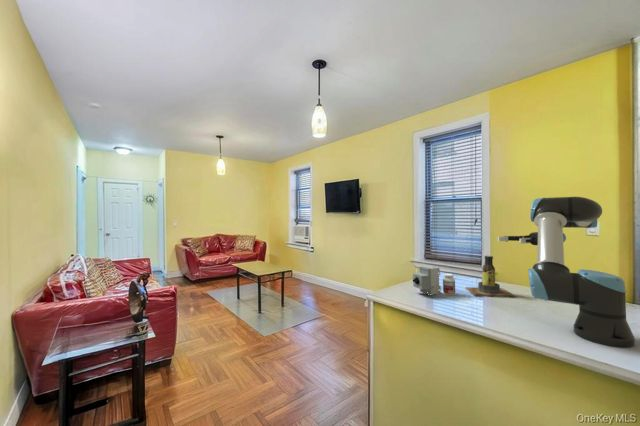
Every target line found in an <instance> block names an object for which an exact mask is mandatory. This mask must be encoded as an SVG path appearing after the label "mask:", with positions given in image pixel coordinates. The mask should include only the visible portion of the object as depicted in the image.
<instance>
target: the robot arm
mask: <svg viewBox="0 0 640 426" xmlns="http://www.w3.org/2000/svg"><path fill="white" fill-rule="evenodd" d="M602 214H603V208H602V206H601V204H599V202H597V201H595V200H593V199H591V198H588V197H583V196H582V197H581V196H566V197H565V196H563V197H562V196H559V197H558V196H557V197H540V198H539V197H538V198H535V199H533V200H532V202H531V206H530V213H529V217H530V222H533V223H534V225H535V226H536V227H537V232H536V231H535V232H534V231H532V232H530V233H529V235H527V234H526V235H504V236H497V242H506V243H507V242H509V241H513V242H519V244H523V245H524V244H530V245H532V246H537V251H536V252H537V256H536V257H537V258H536V263H534V264H533V265H532V268H528V270H527V274H528V281H529V288H530V294H531V296H532V297H533V298H535V299H539V300H542V301H543V300H544V301H546V302H547V301H551V302H556V303H563V304H571V305H577V306H578V308H579V309H578V314H577V317H576V319H575V321H574V323H573V333H574V334H575V335H577V336H579V337H580V338H582V339H585V340H587V341H591V342H593V343H598V344H602V345H606V346H610V347H617V348H618V347H619V348H631V346H632V347H634V346H635V345H636V344H635V343H636V342H635V341H636V339H635V336H634V333H633V332H632V329H631V327H630V325H629V323H628V320H627V309H626V308H627V305H626V304H627V303H626V301H627V300H626V293H627V289H626V284H625V280H624V279H623V278H622V277H620V276H617V275H615V274H611V273H608V272H603V271H599V270H592V269H583V268H582V269H578V271H577V272H570V268H569V267H568V266H567V265H565V253H564V252H565V251H564V250H565V247H564V243H565V242H566V240H567V236H566V234H565V233H564V230H563V228H574V229H575V228H579V229H580V228H585V229H592V228H593V229H594V228H597V226H598V219H599V218H600V217H601V216H602Z"/></svg>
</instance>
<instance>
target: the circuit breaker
mask: <svg viewBox="0 0 640 426" xmlns="http://www.w3.org/2000/svg"><path fill="white" fill-rule="evenodd" d="M412 274H413V275H412V283H413V285H412V286H413V287H414V288H417V289H419V292H420V291H421V292H423V293H422V294H424V293H426V294H429V295H430V294H437V295H439V294H438V293H441V291H442V288H441V287H442V286H441V285H440V276H441V270H440V267H438V266H434V265H422V266H421V265H420V266H419V272H414V273H412ZM421 292H420V293H421ZM427 292H428V293H427ZM426 294H425V295H426ZM429 295H428V296H429ZM430 296H431V295H430Z"/></svg>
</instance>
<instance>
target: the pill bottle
mask: <svg viewBox="0 0 640 426" xmlns="http://www.w3.org/2000/svg"><path fill="white" fill-rule="evenodd" d="M443 276H444V278H442V288H443V289H442V290H443V291H442V292H443V295H446V294H448V295H447V296H455V295H456V280H455V278H454V274H452V273H444V274H443Z"/></svg>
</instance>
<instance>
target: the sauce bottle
mask: <svg viewBox="0 0 640 426" xmlns="http://www.w3.org/2000/svg"><path fill="white" fill-rule="evenodd" d="M493 259H494V256H493V255H487V254H486V255H484V264H483V266H482V273H481V275H482V277H481V280H482V281H481V282H482V284H483V285H488V286H495V283H496V267H495V266H494V265H493V264H494V263H493Z"/></svg>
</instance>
